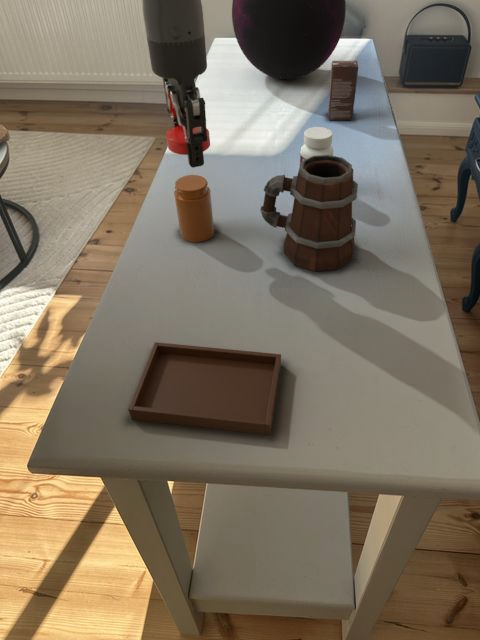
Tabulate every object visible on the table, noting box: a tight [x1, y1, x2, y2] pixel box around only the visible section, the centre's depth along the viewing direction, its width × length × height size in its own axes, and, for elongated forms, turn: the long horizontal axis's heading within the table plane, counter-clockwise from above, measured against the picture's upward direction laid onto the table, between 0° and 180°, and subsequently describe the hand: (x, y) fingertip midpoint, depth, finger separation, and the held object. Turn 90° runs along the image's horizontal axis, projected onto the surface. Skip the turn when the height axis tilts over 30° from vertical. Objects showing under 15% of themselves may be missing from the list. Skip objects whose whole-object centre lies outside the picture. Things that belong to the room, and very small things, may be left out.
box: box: [327, 60, 359, 121], centre depth 115 cm, size 6×4×12 cm
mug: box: [259, 155, 359, 272], centre depth 77 cm, size 16×12×15 cm
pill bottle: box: [299, 126, 334, 166], centre depth 92 cm, size 6×6×11 cm
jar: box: [173, 174, 215, 243], centre depth 83 cm, size 6×6×10 cm
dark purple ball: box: [231, 0, 347, 80], centre depth 128 cm, size 30×30×30 cm
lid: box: [165, 126, 211, 156], centre depth 73 cm, size 6×6×2 cm
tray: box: [127, 341, 282, 436], centre depth 61 cm, size 17×11×2 cm, turn 82°
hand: (190, 155), depth 75 cm, fingers closed on lid, 6 cm apart
